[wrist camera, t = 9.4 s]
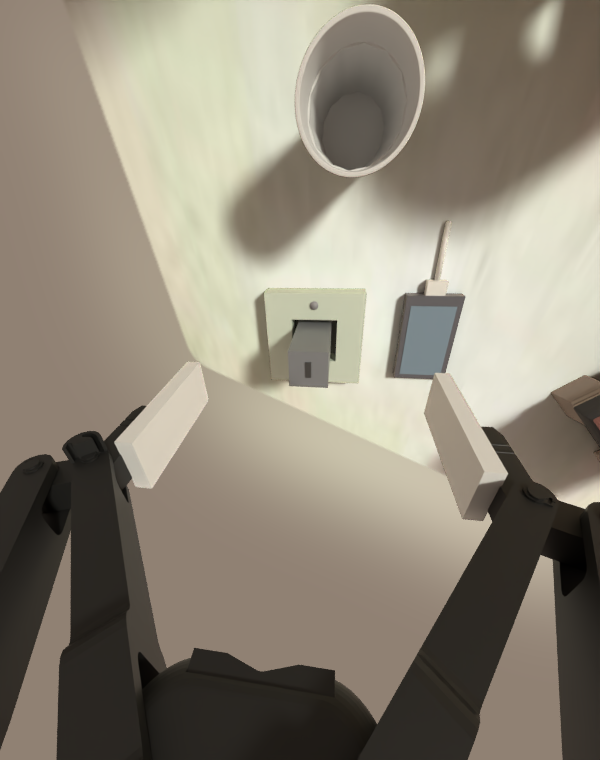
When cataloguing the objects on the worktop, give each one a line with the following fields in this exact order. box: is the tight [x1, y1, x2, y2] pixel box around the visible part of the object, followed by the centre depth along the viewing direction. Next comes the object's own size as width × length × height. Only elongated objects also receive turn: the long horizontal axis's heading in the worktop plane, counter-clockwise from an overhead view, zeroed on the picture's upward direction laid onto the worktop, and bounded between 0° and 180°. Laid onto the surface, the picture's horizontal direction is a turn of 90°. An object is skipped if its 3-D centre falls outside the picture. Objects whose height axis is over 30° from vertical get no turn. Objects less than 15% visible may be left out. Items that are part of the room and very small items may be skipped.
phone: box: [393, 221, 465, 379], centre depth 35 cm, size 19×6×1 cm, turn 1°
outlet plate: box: [264, 288, 367, 383], centre depth 38 cm, size 12×12×3 cm
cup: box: [295, 4, 425, 177], centre depth 24 cm, size 8×8×12 cm
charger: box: [288, 320, 332, 388], centre depth 35 cm, size 4×4×10 cm
